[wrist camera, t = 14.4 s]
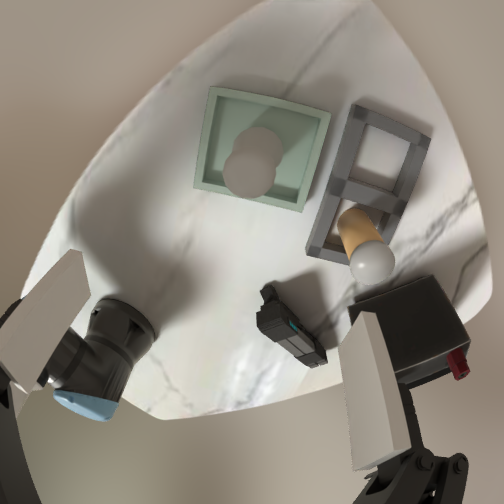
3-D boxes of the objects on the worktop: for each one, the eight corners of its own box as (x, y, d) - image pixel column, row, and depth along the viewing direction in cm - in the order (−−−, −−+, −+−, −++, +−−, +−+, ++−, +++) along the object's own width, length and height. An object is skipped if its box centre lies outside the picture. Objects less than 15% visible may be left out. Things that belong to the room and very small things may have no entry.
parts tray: (197, 182, 35) (193, 188, 33) (214, 86, 28) (210, 86, 26) (300, 206, 35) (301, 212, 34) (328, 112, 28) (331, 113, 27)
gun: (275, 277, 42) (285, 337, 35) (320, 319, 55) (330, 362, 48) (250, 288, 43) (257, 346, 37) (301, 326, 57) (309, 369, 50)
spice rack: (305, 247, 39) (311, 294, 30) (351, 104, 27) (380, 108, 19) (371, 264, 39) (390, 309, 31) (424, 136, 28) (467, 154, 19)
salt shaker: (276, 175, 33) (274, 219, 22) (231, 164, 33) (205, 202, 22) (288, 131, 30) (294, 151, 19) (241, 119, 30) (218, 133, 19)
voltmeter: (362, 352, 51) (376, 437, 34) (345, 300, 44) (366, 407, 27) (431, 326, 46) (461, 406, 29) (430, 268, 39) (480, 361, 22)
